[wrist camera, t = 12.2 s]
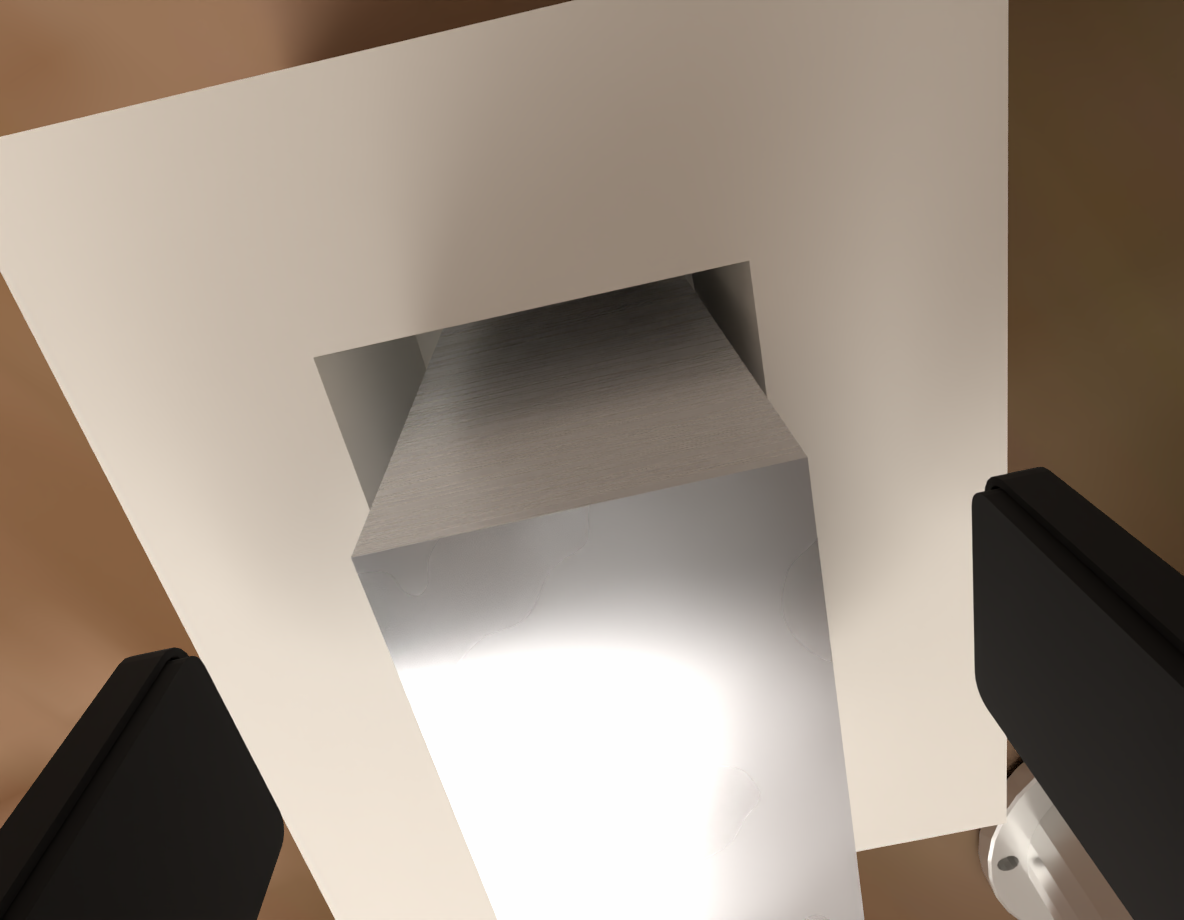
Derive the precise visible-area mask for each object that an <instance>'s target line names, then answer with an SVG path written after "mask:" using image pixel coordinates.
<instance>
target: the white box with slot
mask: <svg viewBox="0 0 1184 920" xmlns="http://www.w3.org/2000/svg"><path fill="white" fill-rule="evenodd" d="M0 272H1V273H2V275H3V277H4V279H5V281H6V283H7V285H8V287H9V289H10V291H11V293H12V295H13V297H14V299H15V301H16V302H17V304H18V306H19V308H20V310H21V312H22V314H23V316H24V318H25V320H26V322H27V324H28V326H29V328H30V330H31V332H32V333H33V335H34V337H35V339H36V341H37V343H38V345H39V347H40V349H41V351H42V353H43V355H44V357H45V359H46V361H47V362H48V364H49V366H50V368H51V370H52V372H53V374H54V376H55V378H56V380H57V382H58V384H59V386H60V388H61V390H62V391H63V393H64V395H65V397H66V399H67V401H68V403H69V405H70V407H71V409H72V411H73V413H74V415H75V417H76V419H77V420H78V422H79V424H80V426H81V428H82V430H83V432H84V434H85V436H86V438H87V440H88V442H89V444H90V446H91V448H92V450H93V451H94V453H95V455H96V457H97V459H98V461H99V463H100V465H101V467H102V469H103V471H104V473H105V475H106V477H107V479H108V480H109V482H110V484H111V486H112V488H113V490H114V492H115V494H116V496H117V498H118V500H119V502H120V504H121V506H122V508H123V509H124V511H125V513H126V515H127V517H128V519H129V521H130V523H131V525H132V527H133V529H134V531H135V533H136V535H137V537H138V539H139V540H140V542H141V544H142V546H143V548H144V550H145V552H146V554H147V556H148V558H149V560H150V562H151V564H152V566H153V568H154V569H155V571H156V573H157V575H158V577H159V579H160V581H161V583H162V585H163V587H164V589H165V591H166V593H167V595H168V597H169V598H170V600H171V602H172V604H173V606H174V608H175V610H176V612H177V614H178V616H179V618H180V620H181V622H182V624H183V626H184V628H185V629H186V631H187V633H188V635H189V637H190V639H191V641H192V643H193V645H194V647H195V649H196V651H197V653H198V655H199V657H200V658H201V660H202V662H203V664H204V665H205V667H206V669H207V671H208V673H209V675H210V676H211V678H212V680H213V682H214V684H215V686H216V688H217V690H218V692H219V694H220V696H221V698H222V700H223V702H224V704H225V706H226V707H227V709H228V711H229V713H230V715H231V717H232V719H233V721H234V723H235V725H236V727H237V729H238V731H239V733H240V735H241V737H242V738H243V740H244V742H245V744H246V746H247V748H248V750H249V752H250V754H251V756H252V758H253V760H254V762H255V764H256V766H257V767H258V769H259V771H260V773H261V775H262V777H263V779H264V781H265V783H266V785H267V787H268V789H269V791H270V793H271V795H272V797H273V798H274V800H275V802H276V804H277V806H278V808H279V810H280V813H281V815H282V817H283V819H284V821H285V823H286V825H287V827H288V829H289V831H290V833H291V835H292V836H293V838H294V840H295V842H296V844H297V846H298V848H299V850H300V852H301V854H302V856H303V858H304V860H305V862H306V864H307V865H308V867H309V869H310V871H311V873H312V875H313V877H314V879H315V881H316V883H317V885H318V887H319V889H320V891H321V893H322V895H323V896H324V898H325V900H326V902H327V904H328V906H329V908H330V910H331V912H332V914H333V916H334V918H335V920H498V919H497V916H496V914H495V911H494V909H493V906H492V904H491V901H490V899H489V896H488V894H487V891H486V889H485V887H484V884H483V882H482V879H481V877H480V874H479V872H478V869H477V867H476V864H475V862H474V859H473V857H472V855H471V852H470V850H469V847H468V845H467V842H466V840H465V837H464V835H463V832H462V830H461V828H460V825H459V823H458V820H457V818H456V815H455V813H454V810H453V808H452V805H451V803H450V800H449V798H448V796H447V793H446V791H445V788H444V786H443V783H442V781H441V778H440V776H439V773H438V771H437V768H436V766H435V764H434V761H433V759H432V756H431V754H430V751H429V749H428V746H427V744H426V741H425V739H424V736H423V734H422V732H421V729H420V727H419V724H418V722H417V719H416V717H415V714H414V712H413V709H412V707H411V704H410V702H409V700H408V697H407V695H406V692H405V690H404V687H403V685H402V682H401V680H400V677H399V675H398V672H397V670H396V668H395V665H394V663H393V660H392V658H391V655H390V653H389V650H388V648H387V645H386V643H385V640H384V638H383V636H382V633H381V631H380V628H379V626H378V623H377V621H376V618H375V616H374V613H373V611H372V609H371V606H370V604H369V601H368V599H367V596H366V594H365V591H364V589H363V586H362V584H361V581H360V579H359V577H358V574H357V572H356V569H355V567H354V564H353V562H352V559H351V556H352V554H353V551H354V549H355V546H356V544H357V541H358V539H359V536H360V534H361V531H362V529H363V526H364V524H365V521H366V519H367V516H368V514H369V511H370V509H371V506H372V504H373V502H374V499H375V497H376V494H377V492H378V489H379V487H380V484H381V482H382V479H383V477H384V474H385V472H386V469H387V467H388V464H389V462H390V459H391V457H392V454H393V452H394V449H395V447H396V444H397V442H398V439H399V437H400V434H401V432H402V429H403V427H404V424H405V422H406V419H407V417H408V414H409V412H410V409H411V407H412V404H413V402H414V399H415V397H416V395H417V392H418V390H419V387H420V385H421V382H422V380H423V377H424V375H425V372H426V370H427V367H428V365H429V362H430V360H431V357H432V355H433V352H434V350H435V347H436V345H437V342H438V340H439V337H440V335H441V332H442V330H443V329H444V328H448V327H453V326H457V325H462V324H466V323H471V322H475V321H480V320H484V319H489V318H493V317H498V316H502V315H507V314H511V313H515V312H520V311H524V310H529V309H533V308H538V307H542V306H547V305H551V304H556V303H560V302H565V301H569V300H574V299H578V298H583V297H587V296H592V295H596V294H601V293H605V292H610V291H614V290H619V289H623V288H628V287H632V286H637V285H641V284H646V283H650V282H655V281H659V280H664V279H668V278H673V277H677V276H682V275H684V276H685V278H686V279H687V281H688V282H689V284H690V285H691V287H692V288H693V290H694V291H695V292H696V294H697V295H698V297H699V298H700V300H701V301H702V303H703V304H704V306H705V307H706V309H707V310H708V312H709V313H710V315H711V316H712V317H713V319H714V320H715V322H716V323H717V325H718V326H719V328H720V329H721V331H722V332H723V334H724V335H725V337H726V338H727V339H728V341H729V342H730V344H731V345H732V347H733V348H734V350H735V351H736V353H737V354H738V356H739V357H740V359H741V360H742V362H743V363H744V364H745V366H746V367H747V369H748V370H749V372H750V373H751V375H752V376H753V378H754V379H755V381H756V382H757V384H758V385H759V387H760V388H761V389H762V391H763V392H764V394H765V395H766V397H767V398H768V400H769V401H770V403H771V404H772V406H773V407H774V409H775V410H776V411H777V413H778V414H779V416H780V417H781V419H782V420H783V422H784V423H785V425H786V426H787V428H788V429H789V431H790V432H791V434H792V435H793V436H794V438H795V439H796V441H797V442H798V444H799V445H800V447H801V448H802V450H803V451H804V453H805V454H806V456H807V457H808V465H809V473H810V481H811V489H812V497H813V506H814V514H815V522H816V530H817V538H818V546H819V554H820V563H821V571H822V579H823V587H824V595H825V603H826V612H827V620H828V628H829V636H830V644H831V652H832V661H833V669H834V677H835V685H836V693H837V701H838V710H839V718H840V726H841V734H842V742H843V750H844V758H845V767H846V775H847V783H848V791H849V799H850V807H851V816H852V824H853V832H854V840H855V848H856V852H857V851H862V850H868V849H873V848H878V847H883V846H889V845H894V844H899V843H904V842H910V841H915V840H920V839H925V838H931V837H936V836H941V835H946V834H952V833H957V832H962V831H967V830H973V829H978V828H983V827H988V826H994V825H999V824H1004V823H1007V737H1006V735H1005V734H1004V732H1003V731H1002V729H1001V728H1000V727H999V725H998V724H997V722H996V721H995V719H994V718H993V717H992V715H991V714H990V712H989V711H988V709H987V708H986V706H985V704H984V703H983V701H982V699H981V696H980V694H979V691H978V688H977V684H976V680H975V665H974V612H973V559H972V499H973V496H974V495H975V494H976V493H978V492H983V491H985V486H986V483H987V480H988V479H990V478H991V477H993V476H998V475H1003V474H1007V345H1008V0H573V1H569V2H564V3H560V4H556V5H552V6H548V7H543V8H539V9H535V10H531V11H527V12H523V13H518V14H514V15H510V16H506V17H502V18H497V19H493V20H489V21H485V22H481V23H476V24H472V25H468V26H464V27H460V28H455V29H451V30H447V31H443V32H439V33H434V34H430V35H426V36H422V37H418V38H413V39H409V40H405V41H401V42H397V43H392V44H388V45H384V46H380V47H376V48H372V49H367V50H363V51H359V52H355V53H351V54H346V55H342V56H338V57H334V58H330V59H325V60H321V61H317V62H313V63H309V64H304V65H300V66H296V67H292V68H288V69H283V70H279V71H275V72H271V73H267V74H262V75H258V76H254V77H250V78H246V79H241V80H237V81H233V82H229V83H225V84H220V85H216V86H212V87H208V88H204V89H200V90H195V91H191V92H187V93H183V94H179V95H174V96H170V97H166V98H162V99H158V100H153V101H149V102H145V103H141V104H137V105H132V106H128V107H124V108H120V109H116V110H111V111H107V112H103V113H99V114H95V115H90V116H86V117H82V118H78V119H74V120H69V121H65V122H61V123H57V124H53V125H48V126H44V127H40V128H36V129H32V130H28V131H23V132H19V133H15V134H11V135H7V136H2V137H0Z"/></svg>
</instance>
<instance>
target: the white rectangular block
mask: <svg viewBox="0 0 1184 920" xmlns="http://www.w3.org/2000/svg"><path fill="white" fill-rule="evenodd" d="M351 559H352V562H353V564H354V567H355V569H356V572H357V574H358V577H359V579H360V581H361V584H362V586H363V589H364V591H365V594H366V596H367V599H368V601H369V604H370V606H371V609H372V611H373V613H374V616H375V618H376V621H377V623H378V626H379V628H380V631H381V633H382V636H383V638H384V640H385V643H386V645H387V648H388V650H389V653H390V655H391V658H392V660H393V663H394V665H395V668H396V670H397V672H398V675H399V677H400V680H401V682H402V685H403V687H404V690H405V692H406V695H407V697H408V700H409V702H410V704H411V707H412V709H413V712H414V714H415V717H416V719H417V722H418V724H419V727H420V729H421V732H422V734H423V736H424V739H425V741H426V744H427V746H428V749H429V751H430V754H431V756H432V759H433V761H434V764H435V766H436V768H437V771H438V773H439V776H440V778H441V781H442V783H443V786H444V788H445V791H446V793H447V796H448V798H449V800H450V803H451V805H452V808H453V810H454V813H455V815H456V818H457V820H458V823H459V825H460V828H461V830H462V832H463V835H464V837H465V840H466V842H467V845H468V847H469V850H470V852H471V855H472V857H473V859H474V862H475V864H476V867H477V869H478V872H479V874H480V877H481V879H482V882H483V884H484V887H485V889H486V891H487V894H488V896H489V899H490V901H491V904H492V906H493V909H494V911H495V914H496V916H497V919H498V920H864V914H863V905H862V897H861V889H860V881H859V873H858V865H857V856H856V848H855V840H854V832H853V824H852V816H851V807H850V799H849V791H848V783H847V775H846V767H845V758H844V750H843V742H842V734H841V726H840V718H839V710H838V701H837V693H836V685H835V677H834V669H833V661H832V652H831V644H830V636H829V628H828V620H827V612H826V603H825V595H824V587H823V579H822V571H821V563H820V554H819V546H818V538H817V530H816V522H815V514H814V506H813V497H812V489H811V481H810V473H809V465H808V457H807V456H806V454H805V453H804V451H803V450H802V448H801V447H800V445H799V444H798V442H797V441H796V439H795V438H794V436H793V435H792V434H791V432H790V431H789V429H788V428H787V426H786V425H785V423H784V422H783V420H782V419H781V417H780V416H779V414H778V413H777V411H776V410H775V409H774V407H773V406H772V404H771V403H770V401H769V400H768V398H767V397H766V395H765V394H764V392H763V391H762V389H761V388H760V387H759V385H758V384H757V382H756V381H755V379H754V378H753V376H752V375H751V373H750V372H749V370H748V369H747V367H746V366H745V364H744V363H743V362H742V360H741V359H740V357H739V356H738V354H737V353H736V351H735V350H734V348H733V347H732V345H731V344H730V342H729V341H728V339H727V338H726V337H725V335H724V334H723V332H722V331H721V329H720V328H719V326H718V325H717V323H716V322H715V320H714V319H713V317H712V316H711V315H710V313H709V312H708V310H707V309H706V307H705V306H704V304H703V303H702V301H701V300H700V298H699V297H698V295H697V294H696V292H695V291H694V290H693V288H692V287H691V285H690V284H689V282H688V281H687V279H686V278H685V276H684V275H682V276H677V277H673V278H668V279H664V280H659V281H655V282H650V283H646V284H641V285H637V286H632V287H628V288H623V289H619V290H614V291H610V292H605V293H601V294H596V295H592V296H587V297H583V298H578V299H574V300H569V301H565V302H560V303H556V304H551V305H547V306H542V307H538V308H533V309H529V310H524V311H520V312H515V313H511V314H507V315H502V316H498V317H493V318H489V319H484V320H480V321H475V322H471V323H466V324H462V325H457V326H453V327H448V328H444V329H443V330H442V332H441V335H440V337H439V340H438V342H437V345H436V347H435V350H434V352H433V355H432V357H431V360H430V362H429V365H428V367H427V370H426V372H425V375H424V377H423V380H422V382H421V385H420V387H419V390H418V392H417V395H416V397H415V399H414V402H413V404H412V407H411V409H410V412H409V414H408V417H407V419H406V422H405V424H404V427H403V429H402V432H401V434H400V437H399V439H398V442H397V444H396V447H395V449H394V452H393V454H392V457H391V459H390V462H389V464H388V467H387V469H386V472H385V474H384V477H383V479H382V482H381V484H380V487H379V489H378V492H377V494H376V497H375V499H374V502H373V504H372V506H371V509H370V511H369V514H368V516H367V519H366V521H365V524H364V526H363V529H362V531H361V534H360V536H359V539H358V541H357V544H356V546H355V549H354V551H353V554H352V556H351Z"/></svg>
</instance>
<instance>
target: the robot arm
mask: <svg viewBox="0 0 1184 920" xmlns="http://www.w3.org/2000/svg"><path fill="white" fill-rule="evenodd" d="M972 559H973V612H974V665H975V680H976V684H977V688H978V691H979V694H980V696H981V699H982V701H983V703H984V704H985V706H986V708H987V709H988V711H989V712H990V714H991V715H992V717H993V718H994V719H995V721H996V722H997V724H998V725H999V727H1000V728H1001V729H1002V731H1003V732H1004V734H1005V735H1006V737H1007V738H1008V740H1009V741H1010V742H1011V744H1012V745H1013V747H1014V748H1015V750H1016V751H1017V753H1018V754H1019V755H1020V757H1021V758H1022V760H1023V761H1024V762H1023V763H1022V764H1021V765H1020V766H1019V767H1017V768H1016V769H1015V771H1014V772H1013V773H1012V774H1011V775H1010V777H1009V778H1008V779H1007V823H1004V824H999V825H994V826H988V827H983V828H981V830H980V833H979V853H978V854H979V858H980V862H981V866H982V870H983V873H984V875H985V877H986V878H987V880H988V882H989V884H990V886H991V888H992V890H993V892H994V894H995V896H996V897H997V899H998V900H999V901H1000V902H1001V904H1002V905H1003V906H1004V907H1005V909H1006V910H1007V911H1008V912H1009V913H1010V914H1012V915H1013V916H1014V917H1016V918H1017V919H1018V920H1184V576H1183V575H1181V574H1180V573H1179V572H1178V571H1176V570H1175V569H1174V568H1173V567H1171V566H1170V565H1169V564H1167V563H1166V562H1165V561H1164V560H1162V559H1161V558H1160V557H1159V556H1157V555H1156V554H1155V553H1154V552H1152V551H1151V550H1150V549H1148V548H1147V547H1146V546H1145V545H1143V544H1142V543H1141V542H1140V541H1138V540H1137V539H1136V538H1135V537H1133V536H1132V535H1131V534H1129V533H1128V532H1127V531H1126V530H1124V529H1123V528H1122V527H1121V526H1119V525H1118V524H1117V523H1116V522H1114V521H1113V520H1112V519H1110V518H1109V517H1108V516H1107V515H1105V514H1104V513H1103V512H1102V511H1100V510H1099V509H1098V508H1097V507H1095V506H1094V505H1093V504H1091V503H1090V502H1089V501H1088V500H1086V499H1085V498H1084V497H1083V496H1081V495H1080V494H1079V493H1078V492H1076V491H1075V490H1074V489H1072V488H1071V487H1070V486H1069V485H1067V484H1066V483H1065V482H1064V481H1062V480H1061V479H1060V478H1059V477H1057V476H1056V475H1055V474H1053V473H1052V472H1051V471H1050V470H1048V469H1046V468H1044V467H1036V468H1032V469H1027V470H1022V471H1017V472H1013V473H1008V474H1003V475H998V476H993V477H991V478H990V479H988V480H987V483H986V486H985V491H983V492H978V493H976V494H975V495H974V496H973V499H972ZM283 837H284V824H283V819H282V815H281V813H280V810H279V808H278V806H277V804H276V802H275V800H274V798H273V797H272V795H271V793H270V791H269V789H268V787H267V785H266V783H265V781H264V779H263V777H262V775H261V773H260V771H259V769H258V767H257V766H256V764H255V762H254V760H253V758H252V756H251V754H250V752H249V750H248V748H247V746H246V744H245V742H244V740H243V738H242V737H241V735H240V733H239V731H238V729H237V727H236V725H235V723H234V721H233V719H232V717H231V715H230V713H229V711H228V709H227V707H226V706H225V704H224V702H223V700H222V698H221V696H220V694H219V692H218V690H217V688H216V686H215V684H214V682H213V680H212V678H211V676H210V675H209V673H208V671H207V669H206V667H205V665H204V664H203V662H202V661H201V660H200V659H199V658H198V657H195V656H190V657H189V656H188V655H187V653H186V652H184V651H183V650H182V649H179V648H169V649H164V650H160V651H155V652H150V653H145V654H140V655H136V656H131V657H128V658H125V659H124V660H123V661H122V662H121V663H120V664H119V665H118V667H117V668H116V669H115V671H114V672H113V674H112V675H111V676H110V678H109V679H108V681H107V682H106V683H105V685H104V686H103V688H102V689H101V690H100V692H99V693H98V694H97V696H96V697H95V699H94V700H93V701H92V703H91V704H90V706H89V707H88V708H87V710H86V711H85V712H84V714H83V715H82V717H81V718H80V719H79V721H78V722H77V724H76V725H75V726H74V728H73V729H72V731H71V732H70V733H69V735H68V736H67V737H66V739H65V740H64V742H63V743H62V744H61V746H60V747H59V749H58V750H57V751H56V753H55V754H54V755H53V757H52V758H51V760H50V761H49V762H48V764H47V765H46V767H45V768H44V769H43V771H42V772H41V774H40V775H39V776H38V778H37V779H36V780H35V782H34V783H33V785H32V786H31V787H30V789H29V790H28V792H27V793H26V794H25V796H24V797H23V798H22V800H21V801H20V803H19V804H18V805H17V807H16V808H15V810H14V811H13V812H12V814H11V815H10V817H9V818H8V819H7V821H6V822H5V823H4V825H3V826H2V828H1V829H0V920H257V917H258V914H259V911H260V908H261V906H262V903H263V900H264V897H265V894H266V891H267V888H268V885H269V882H270V879H271V876H272V873H273V870H274V867H275V865H276V862H277V859H278V856H279V853H280V850H281V847H282V843H283Z"/></svg>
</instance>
